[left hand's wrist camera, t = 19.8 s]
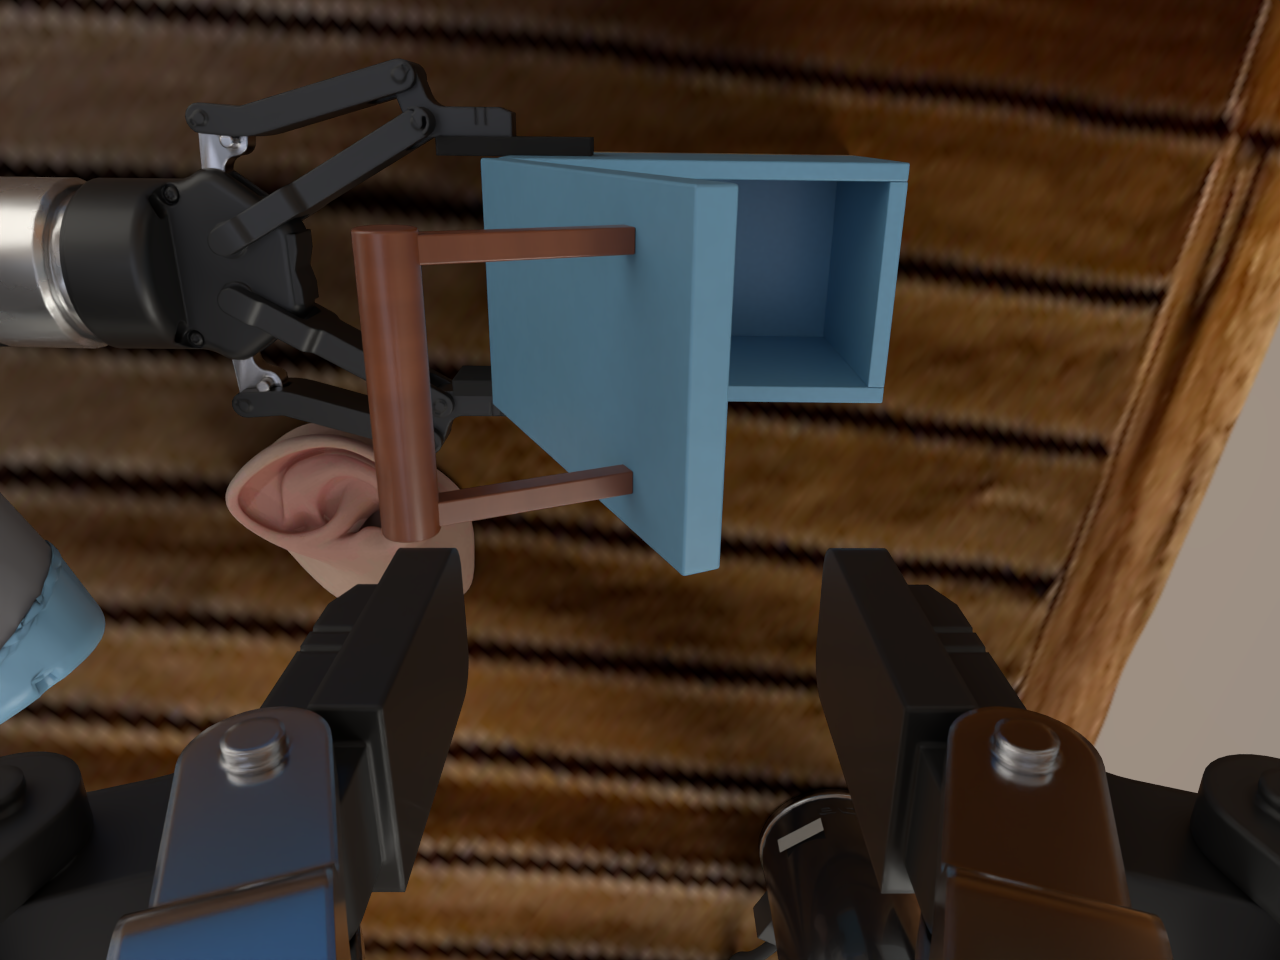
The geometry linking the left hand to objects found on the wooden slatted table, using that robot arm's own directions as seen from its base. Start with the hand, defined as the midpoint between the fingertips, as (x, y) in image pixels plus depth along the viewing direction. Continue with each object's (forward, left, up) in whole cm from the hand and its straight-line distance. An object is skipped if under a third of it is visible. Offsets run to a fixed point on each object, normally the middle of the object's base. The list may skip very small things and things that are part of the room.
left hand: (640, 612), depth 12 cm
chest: (0, -2, -37) cm, 38 cm away
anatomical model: (-18, +12, -37) cm, 43 cm away
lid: (0, +1, -19) cm, 19 cm away
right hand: (0, +2, -31) cm, 31 cm away
